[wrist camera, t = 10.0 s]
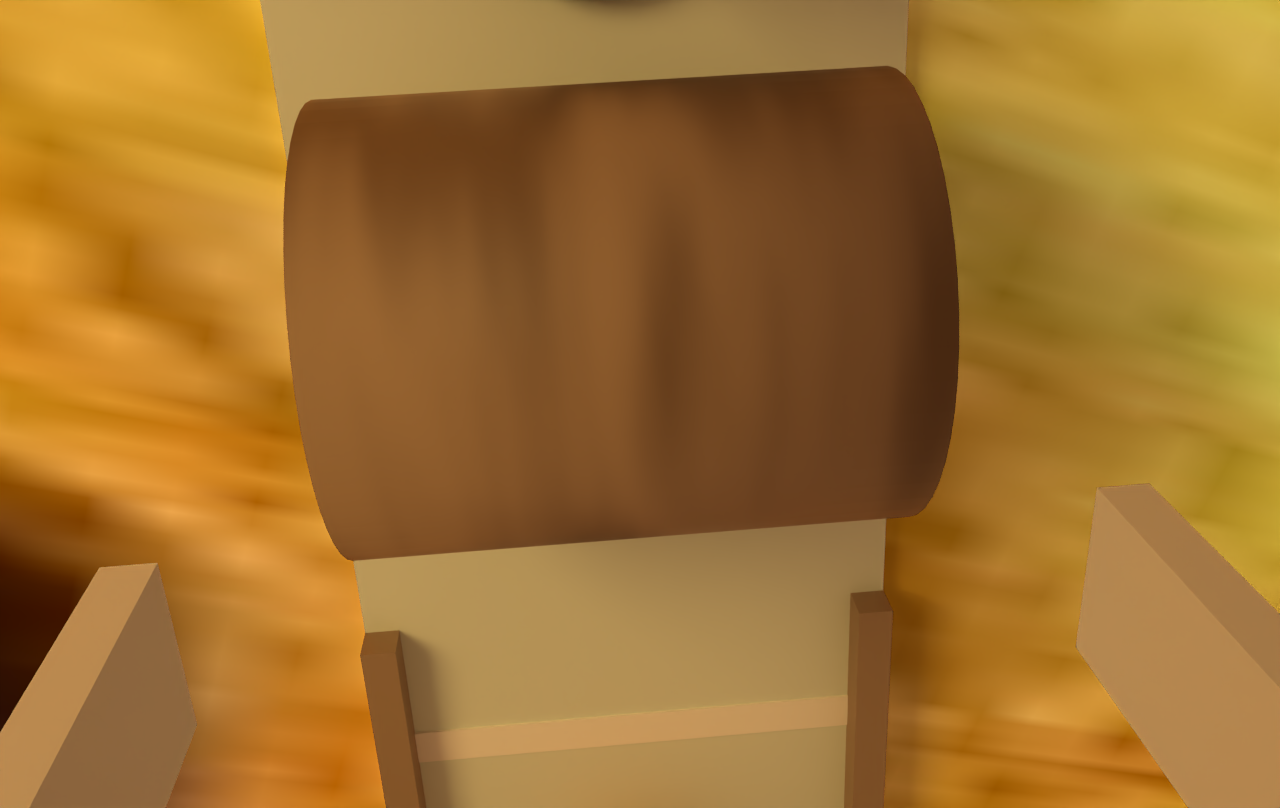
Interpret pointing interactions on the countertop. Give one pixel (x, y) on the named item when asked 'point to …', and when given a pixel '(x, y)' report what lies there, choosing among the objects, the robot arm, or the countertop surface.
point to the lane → (629, 568)
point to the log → (619, 309)
